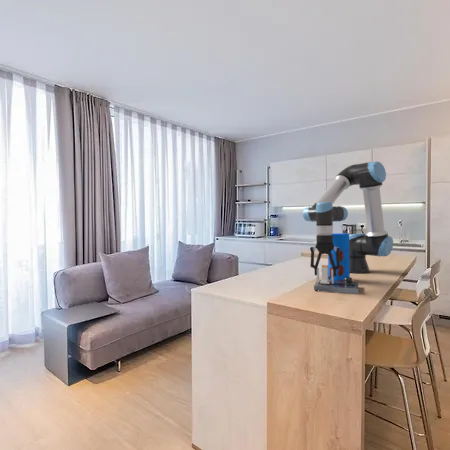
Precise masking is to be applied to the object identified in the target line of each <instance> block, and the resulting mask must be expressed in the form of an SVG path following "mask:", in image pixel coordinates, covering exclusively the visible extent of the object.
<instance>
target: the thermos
mask: <svg viewBox="0 0 450 450" xmlns="http://www.w3.org/2000/svg"><path fill="white" fill-rule="evenodd" d="M332 235H333V245H334V246H335V247H339V248H340V250H339V260H340V268H339V269H336V276H334V281H344V277H351V276H350V274H351V273H350V250H349V235H350V233H344V232H342V233H341V232H340V233H337V232H335V233H334V232H333V234H332ZM331 254H332V257H333V260H334V263H335V266H337V261H336V251H335V249H333V250H332V251H331ZM327 265H329V266H328V276H330V280H332V274H331V270H332V269H333V267H332V264H331V261H330V258H329V256H328V255H327Z"/></svg>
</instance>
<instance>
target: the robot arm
mask: <svg viewBox="0 0 450 450" xmlns="http://www.w3.org/2000/svg"><path fill="white" fill-rule="evenodd" d="M386 179H387V172H386V168H385V167H384V165H383V163H381V162H380V161H368V162H363V163H358V164H352V165H351V164H350V165H349V166H347V167H345V168H344V169H343V170H341V171H340V172H339V173H337V175H336V176H335V177H334V178H333V182H332V183H331V184H330V185H329V186H328V187H327V189H325V191H324V192H323V193H322V195H320V196H319V198H318V199H317V200H316V202H314V204H313V205H312V206H311V207H310V206H309V207H306V208H304V209H303V211H302V218H303V219H304V221H306V222H311V223H316V224H315V225H316V226H315V227H316V231H315V232H316V239H315V240H316V244H315V246H310V248H309V250H310V268H312V269H314V276H316V281H317V283H319V280H320V267H319V264H320V261H321V257H322V255H327V257H328V256H329V258H330V261H331V264H332V267H333V269H332V270H331V274H332V284H333V283H334V276H336V269H339V268H340V260H339V250H340V248H339V247H335V246H334V245H333V235H332V234H333V233H334V222H343V221H345V220H346V219H347V218H348V217H349V216H348V215H349V212H348V209H347V208H346V207H345V206H342V205H336V206H335V205H334V206H333V204H334V203H335V202H336V201H337V199H338V198H339V197H340V196H341V194H343V192H345V190H348V188H349V187H351V186H355V185H358V187H359V189H360V190H362V193H363V202H364V203H363V204H364V212H365V220H366V227H367V228H366V229H367V231H366V233H365V232H362V233H361V232H360V233H353V234H349V250H350V272H352V273H351V274H365V273H369V272H370V267H369V264H368V261H367V259H366V257H367V256H373V257H374V256H375V257H388V256H389V255H390V254H392V253H391V252H392V251H393V248H394V240H393V237H392V236H390V235H389V234H388V231H386V230H385V223H384V217H383V216H384V214H383V205H382V198H381V187H382V186H383V182H385V181H386ZM333 249H335V251H336V261H337V266H335V263H334V260H333V257H332V254H331V251H332V250H333ZM316 250H317V252H318V255H317V257H316V262H315V251H316ZM314 263H315V264H314ZM318 267H319V268H318Z"/></svg>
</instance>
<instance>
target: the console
mask: <svg viewBox="0 0 450 450" xmlns="http://www.w3.org/2000/svg"><path fill="white" fill-rule="evenodd" d="M328 279H329V280H330V276H328ZM321 280H322V279H319V283H317V280H316V282H315V283H314V285H313V291H314V290H319V291H318V292H321V291H328V292H327V293H335V292H338V294H350V295H351V294H352V295H359V282H358V281H353V277H351V276H350V277H344V281H334V283H333V284H332V280H330V283H329V284H322V283H320V281H321Z"/></svg>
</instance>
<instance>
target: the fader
mask: <svg viewBox="0 0 450 450" xmlns="http://www.w3.org/2000/svg"><path fill="white" fill-rule="evenodd" d="M328 266H329V265H328V264H322V265H321V279H320V280H321V281H320V283H322V284H329V283H330V280H329V279H328Z"/></svg>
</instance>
